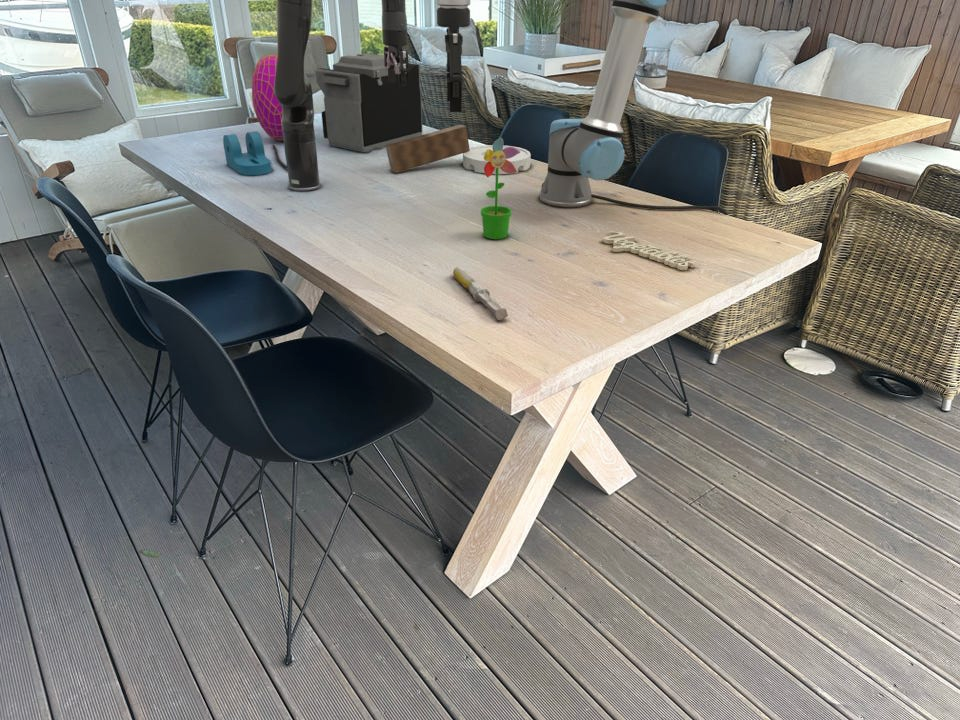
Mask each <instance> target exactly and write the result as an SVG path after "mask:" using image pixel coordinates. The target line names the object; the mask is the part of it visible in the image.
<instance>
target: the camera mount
mask: <svg viewBox="0 0 960 720" xmlns="http://www.w3.org/2000/svg"><path fill="white" fill-rule="evenodd" d="M222 140H223V141H222V143H223V149H224V150H223V151H224V156H225V161H226V165H227V166H228V167H230V168H231V169H232V170H234V171H236V172H237V173H238V174H239V175H244V176H260V175H265V174H268V173H271V172H272V164H271V159H270V158H268V157H267V156H266V153H265V145H264V141H263V139H262V136H261V134H260V132H258V131H247V132H246V133H245V146H246V152H243V151H242V150H243V149H242V146H241V142H240V140H239V138H238V135H236V134H235V133H231V134H224V135H223V138H222Z"/></svg>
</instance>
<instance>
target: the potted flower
mask: <svg viewBox="0 0 960 720" xmlns="http://www.w3.org/2000/svg"><path fill="white" fill-rule="evenodd" d="M492 145H493V151H492V150H491V149H487V151H486V153H485V155H484V160H485V161H489V162H487V163H486V165H485V167H484V172H485V173H484V174H485V176H486V177H487V178H490V177H491V176H492V175H493V174H492V173H493V172H494V170H495V168H496V174H495V187H494V188H495V190H494V189H493V190H492V189H491V190H488V191H487V192H486V193H485V195H486V197H488V198H490V199H494V205H488V206H484V207H482V208H481V209H480V217H481V221H482V233H483V236H484V237H485V238H487V239H491V240H502V239H505V238H507V237H508V234H509V227H510V222H511V221H510V219H511V217H512V212H513V211H512V209H511V208H509V207H506V206H503V205H498V204H499V202H498V201H499V190H501V189H502V188H503V187H504V185H505V183H504V182H499V174H498V169H499V168H500V169H501V170H502V171H504V172H506V173H511V174H516V173H515V172H517V170H516V168H515V167H514V165H513V164H512V163H511V162H510V161H508V160H505V159H509V158H512V157H514V156H515V155H517V154H519V153H520V151H519V150H518V149H516V148H514V147H515V146H513V147H506V148H504V149H503V145H504V139H503V137H499V138H498V139H496V140H494V141H493V143H492ZM504 146H505V145H504Z"/></svg>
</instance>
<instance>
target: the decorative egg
mask: <svg viewBox="0 0 960 720" xmlns="http://www.w3.org/2000/svg"><path fill="white" fill-rule="evenodd" d="M276 65H277V54H268V55H265V56H262V57H261V58H260V59H259V60H258V61H257V62H256V65H255V68H254V69H253V70H254V71H253V73H252V77H251V101H252V107H253V110H254V114H255V116H256V118H257V121H258V123H259V125H260V127H261V128H262V130H263V131H264V133H266V135H267V136H268V137H270V138H271V139H273V140H275V141H282V142H284V141H283V133H282V126H281V120H282V113H283V109H282V104H281V103H280V102H279V101H278V100H277V98H276V96H275V93H274V81H275V73H276Z"/></svg>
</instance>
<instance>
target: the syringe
mask: <svg viewBox="0 0 960 720" xmlns="http://www.w3.org/2000/svg"><path fill="white" fill-rule="evenodd" d="M452 274H453V277H454V279H455V280H457V281H458V282H459V283H460V285H462V287H464V289H466V290H467V291H468V293H470V295H471V296H472V298H473V300H474V302H477V303H478V302H480V303H482V304H483V305H484V306H485V307H486V308H487V309H488V310H489V311H490V312H491V313H492V314H493V315H494V316H495V317H496V320H497V321H503V320H504V319H506V318H507V317H509V314H508V310H507V308H506V307H502V306H501V305H500V303H498V302H497V301H496V300H494V299H493V298H492V297H491V296H490V295H491V293H490V290H488V289H486V288H483V287H482V286H481V285H480V284H479V283H478V282H477V281H476V280H474V278H473V277H471V275H469V274H468V273H467V272H466V270H465V269H464V268H463V267H462V266H456V267H454V268H453V271H452Z"/></svg>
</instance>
